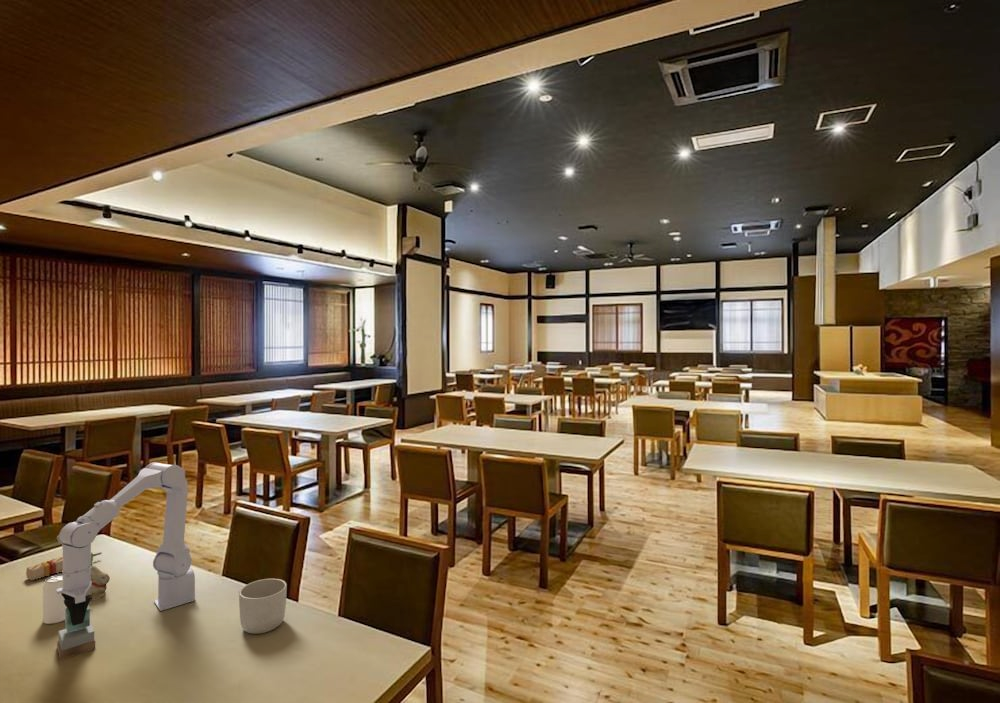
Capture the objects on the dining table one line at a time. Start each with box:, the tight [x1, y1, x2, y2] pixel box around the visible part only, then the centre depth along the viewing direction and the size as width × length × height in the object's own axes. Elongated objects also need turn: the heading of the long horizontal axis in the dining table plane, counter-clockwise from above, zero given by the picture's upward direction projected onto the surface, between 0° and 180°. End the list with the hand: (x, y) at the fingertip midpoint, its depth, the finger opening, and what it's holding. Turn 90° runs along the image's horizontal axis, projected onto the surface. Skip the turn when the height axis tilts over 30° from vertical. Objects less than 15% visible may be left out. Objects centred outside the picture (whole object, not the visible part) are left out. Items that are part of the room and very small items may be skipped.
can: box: [42, 573, 67, 625], centre depth 147 cm, size 6×6×12 cm
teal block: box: [64, 604, 91, 632], centre depth 134 cm, size 4×4×4 cm
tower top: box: [58, 621, 95, 651], centre depth 133 cm, size 6×6×2 cm
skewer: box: [25, 551, 102, 581], centre depth 179 cm, size 21×6×5 cm, turn 150°
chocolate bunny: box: [86, 565, 111, 601], centre depth 160 cm, size 6×8×10 cm
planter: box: [238, 578, 288, 635], centre depth 145 cm, size 12×12×11 cm
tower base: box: [56, 638, 96, 661], centre depth 133 cm, size 7×7×2 cm
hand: (76, 620), depth 133 cm, fingers closed on teal block, 4 cm apart
